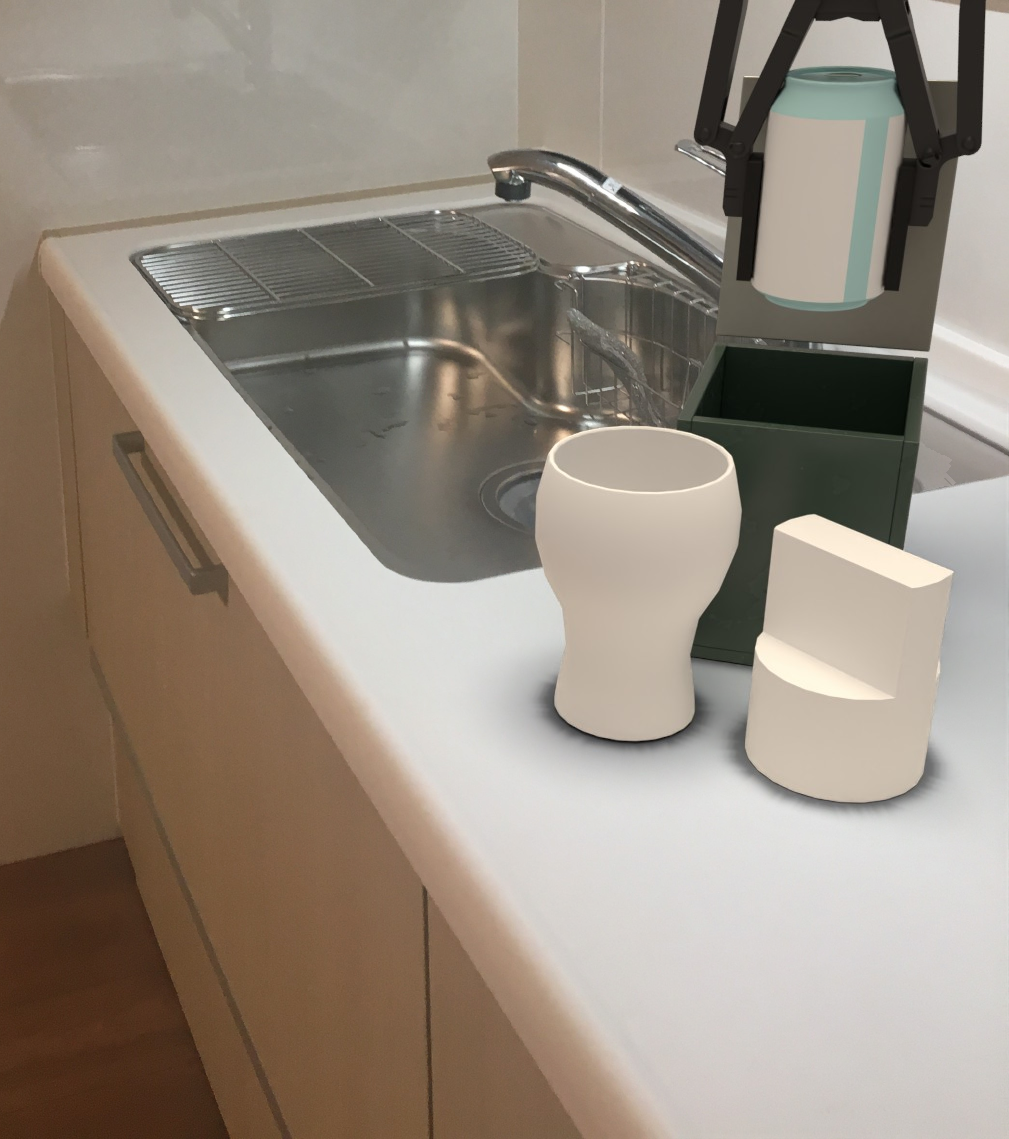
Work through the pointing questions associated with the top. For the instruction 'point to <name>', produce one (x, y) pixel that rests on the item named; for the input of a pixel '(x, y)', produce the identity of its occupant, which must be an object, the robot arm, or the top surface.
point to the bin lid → (881, 319)
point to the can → (829, 187)
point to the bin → (802, 459)
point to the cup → (634, 570)
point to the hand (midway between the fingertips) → (818, 278)
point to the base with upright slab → (845, 663)
